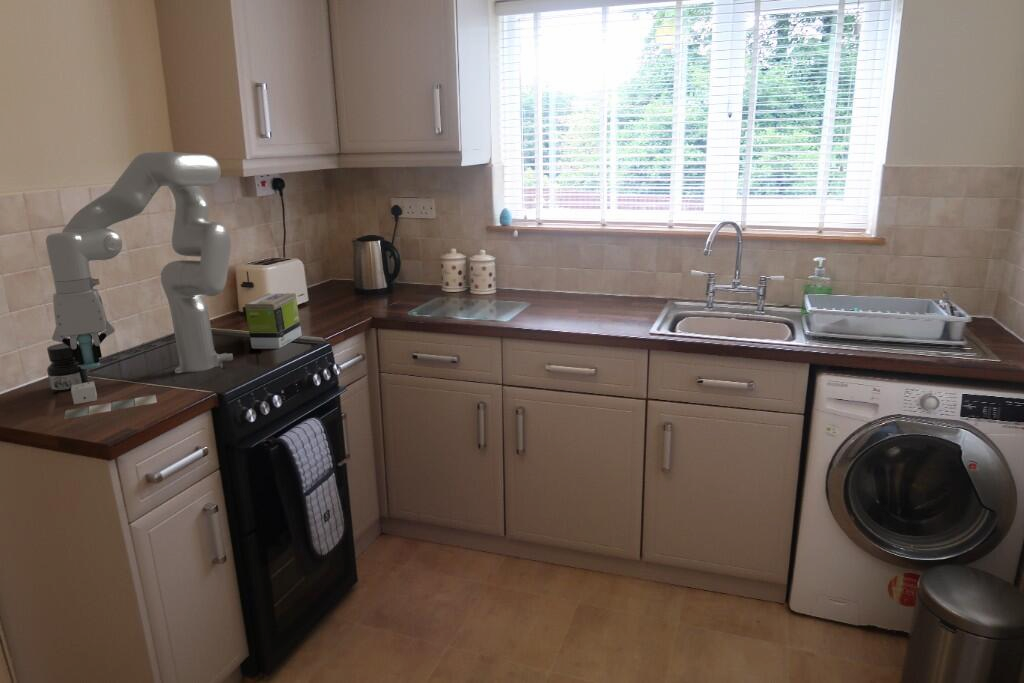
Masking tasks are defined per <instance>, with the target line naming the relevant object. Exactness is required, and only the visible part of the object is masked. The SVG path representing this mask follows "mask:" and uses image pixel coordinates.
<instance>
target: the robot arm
mask: <svg viewBox="0 0 1024 683" xmlns="http://www.w3.org/2000/svg"><path fill="white" fill-rule="evenodd" d="M221 174H222V170H221V165H220V164H219V162H218V160H217V159H216V158H215V157H214V156H212V155H210V154H208V153H197V152H192V153H191V152H177V151H156V152H155V151H152V152H150V151H148V152H143V153H139V154H138V155H137V156H135V157H134V158H133V159H132V161H131V162H130V163H129V165H128V166H127V168H126V169H125V170H124V171H123V173H121V175H120V177H119V178H118V179H116V180H117V181H115V183H114V184H113V186H112V187H111V188H110V189H109V190H108V191H107V192H105V193H104V194H102V195H100V196H98V197H97V198H95V199H93V201H91V202H89V203H88V204H86V205H85V206H83V207H82V208H81V209H80V210H78V211H77V212H76V213H75V214H74V215H73V216H72V218H71V219H70V220H69V221H68V223H67V224H66V225H65V226H64V229H63V230H62V232H55V233H51V234H48V235H47V236H46V238H45V245H46V249H47V251H46V252H47V254H48V259H49V264H50V269H51V274H52V277H53V285H54V288H55V293H53V294H52V295H53V296H52V304H53V306H52V307H53V312H54V313H53V314H54V322H55V328H54V332H53V334H52V337H51V340H52V341H53V342H58V343H64V344H66V345H67V346H69V347H71V348H72V349H73V352H74V356H75V361H79V365H82V364H83V361H82V356H81V351H80V347H79V343H78V341H77V336H78V335H85V334H91V335H92V338H93V339H92V343H93V352H94V357H95V362H97V363H98V362H99V363H100V359H102V358H103V355H102V351H101V350H102V349H101V344H102V342H104V340H105V339H106V338H108V337H109V336H111V335H112V334H114V333H115V328H114V326H113V325H112V324H111V323H110V322H109V320H108V319H107V316H106V312H105V308H104V304H103V300H102V297H101V295H100V292H99V290H98V288H94V287H95V286H97V285H100V284H101V283H100V279H99V278H93V277H92V274H91V268H90V263H89V262H91V261H106V260H111V259H114V258H115V257H117V256H118V255H119V254H120V253H121V251H122V249H123V240H122V238H121V236H120V234H118V233H117V232H116V231H115V230H113V229H110V228H109V227H110V226H113V225H115V224H117V223H120V222H123V221H126V220H129V219H131V218H134V217H135V216H138V215H140V214H141V213H143V211H144V210H145V209H146V207H147V206H148V204H149V203H150V202H151V200H152V198H153V197H154V196H155V194H156V193H157V192H158V190H159V189H160V188H161V187H168V189H169V190H170V192H171V193H172V195H173V197H174V201H175V202H174V203H175V211H174V212H175V214H174V221H173V228H172V235H171V246H172V249H173V251H174V252H175V253H177V254H178V255H180V256H184V257H200V260H184V259H180V260H174V261H171V262H168V263H167V264H165V266H163V268H162V270H161V273H160V282H161V285H162V288H163V291H164V293H165V296H166V298H167V302H168V306H169V309H170V315H171V321H172V327H173V332H174V338H175V339H174V340H175V344H176V350H177V356H178V362H179V366H178V367H176V368H175V369H174V374H181V373H195V372H196V373H197V372H202V371H207V370H210V369H212V368H216V367H220V368H221V369H223V368H224V367H223V362H226V361H227V362H229V361H233V360H234V356H233V353H227V352H224V353H220V354H219V353H217V352H216V350H215V345H214V339H213V333H212V326H211V320H210V314H209V313H210V312H209V309H208V305H207V303H206V301H205V300H204V297H213V296H214V297H215V296H218V295H220V294H221V293H222V292H223V291H224V289H225V287H226V283H227V279H228V271H229V264H230V256H231V247H232V244H231V243H232V241H231V236H230V233H229V231H228V229H227V228H226V227H225V225H223V224H222V223H219V222H217V221H209V216H210V215H209V214H210V213H209V211H210V205H209V202H208V198H207V197H206V195H205V193H204V191H203V190H202V189H201V187H212V186H214V185H215V184H217V183H218V181H219V180H220V179H221V178H220V177H221ZM99 333H100V334H99Z"/></svg>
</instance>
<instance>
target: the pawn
mask: <svg viewBox="0 0 1024 683" xmlns="http://www.w3.org/2000/svg"><path fill="white" fill-rule="evenodd" d="M76 337H77V343H78V344H79V347H80V351H81V356H82V361H83V364H82V365H80V367H81V369H87V370H89V369H95V368H98V367H100V366H101V363H100V361H99V362H98V363H97V362H95V357H94V352H93V337H92V334H85V335H78V336H76Z"/></svg>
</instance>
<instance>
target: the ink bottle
mask: <svg viewBox="0 0 1024 683" xmlns="http://www.w3.org/2000/svg"><path fill="white" fill-rule="evenodd" d="M46 350H47V353H48V358H49V362H50V365H48V367H47V369H46V370H47V371H46V373H47V375H48V380H49V385H50V388H51V389H50V390H51V392H52V393H54V394H61V393H67V392H71V385H75V384H81V383H87V382H90V379H89V375H88V371H87V370H88V369H81V367H80V365H79V361H75V356H74V352H73V349H72V348H71V347H69V346H67V345H66V344H64V343H62V342H60V343H56V344H52V345H49V346H47V349H46Z"/></svg>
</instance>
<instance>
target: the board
mask: <svg viewBox="0 0 1024 683" xmlns="http://www.w3.org/2000/svg"><path fill="white" fill-rule="evenodd" d="M156 395H157V394H152V395H151V394H150V395H146V396H140V397H135V398H130V399H124V400H119V401H118V400H117V401H113V402H107V403H102V404H95V405H90V406H84V407H80V408H79V407H78V408H74V409H73V408H72V409H67V410H65V411H64V412H65V413H64V418H63V420H69V419H75V418H79V417H85V416H91V415H96V414H101V413H107V412H112V411H113V412H114V411H118V410H123V409H130V408H134V407H139V406H140V407H141V406H145V405H146V406H147V405H152V404H156V403H157V402H158V401H157V396H156Z"/></svg>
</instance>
